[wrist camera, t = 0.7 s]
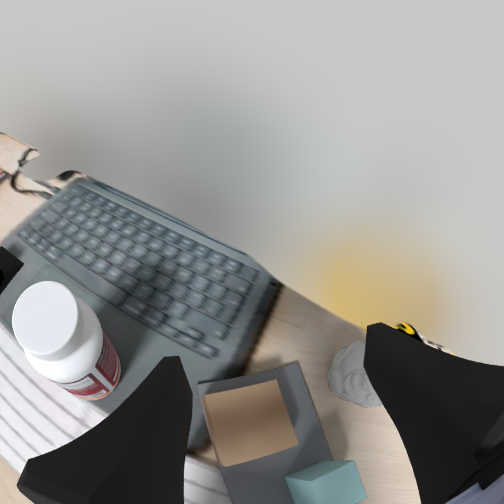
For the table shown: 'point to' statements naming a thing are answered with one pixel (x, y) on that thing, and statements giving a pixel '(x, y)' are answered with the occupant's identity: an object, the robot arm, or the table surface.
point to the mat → (286, 461)
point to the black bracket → (8, 267)
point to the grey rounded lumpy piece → (352, 376)
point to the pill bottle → (65, 341)
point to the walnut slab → (248, 423)
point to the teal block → (327, 484)
